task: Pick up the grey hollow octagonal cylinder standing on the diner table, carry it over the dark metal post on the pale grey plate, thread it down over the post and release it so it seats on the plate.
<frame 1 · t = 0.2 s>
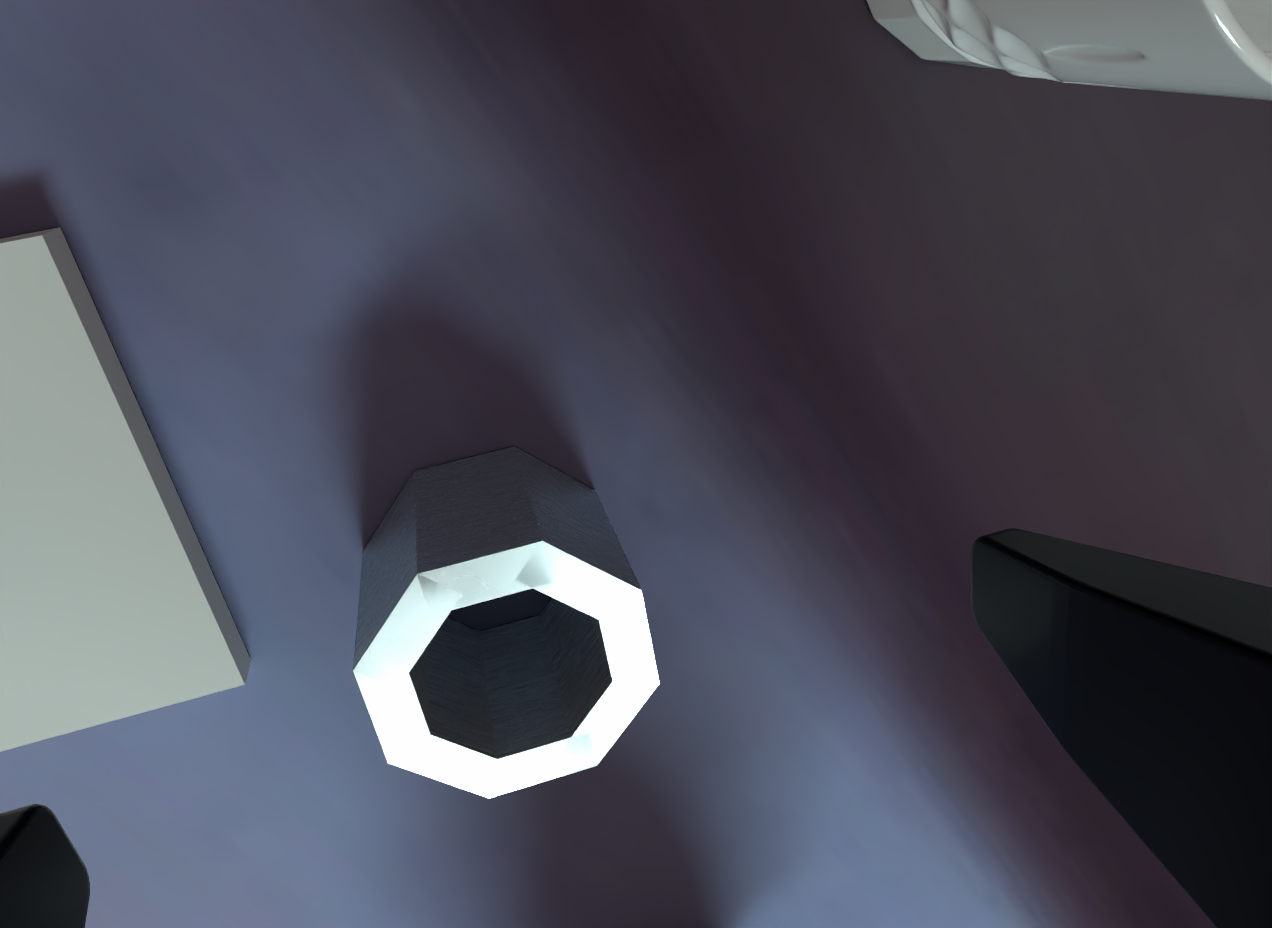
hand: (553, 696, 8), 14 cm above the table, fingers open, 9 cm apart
grey hollow octagonal cylinder: (492, 561, 23), on the table
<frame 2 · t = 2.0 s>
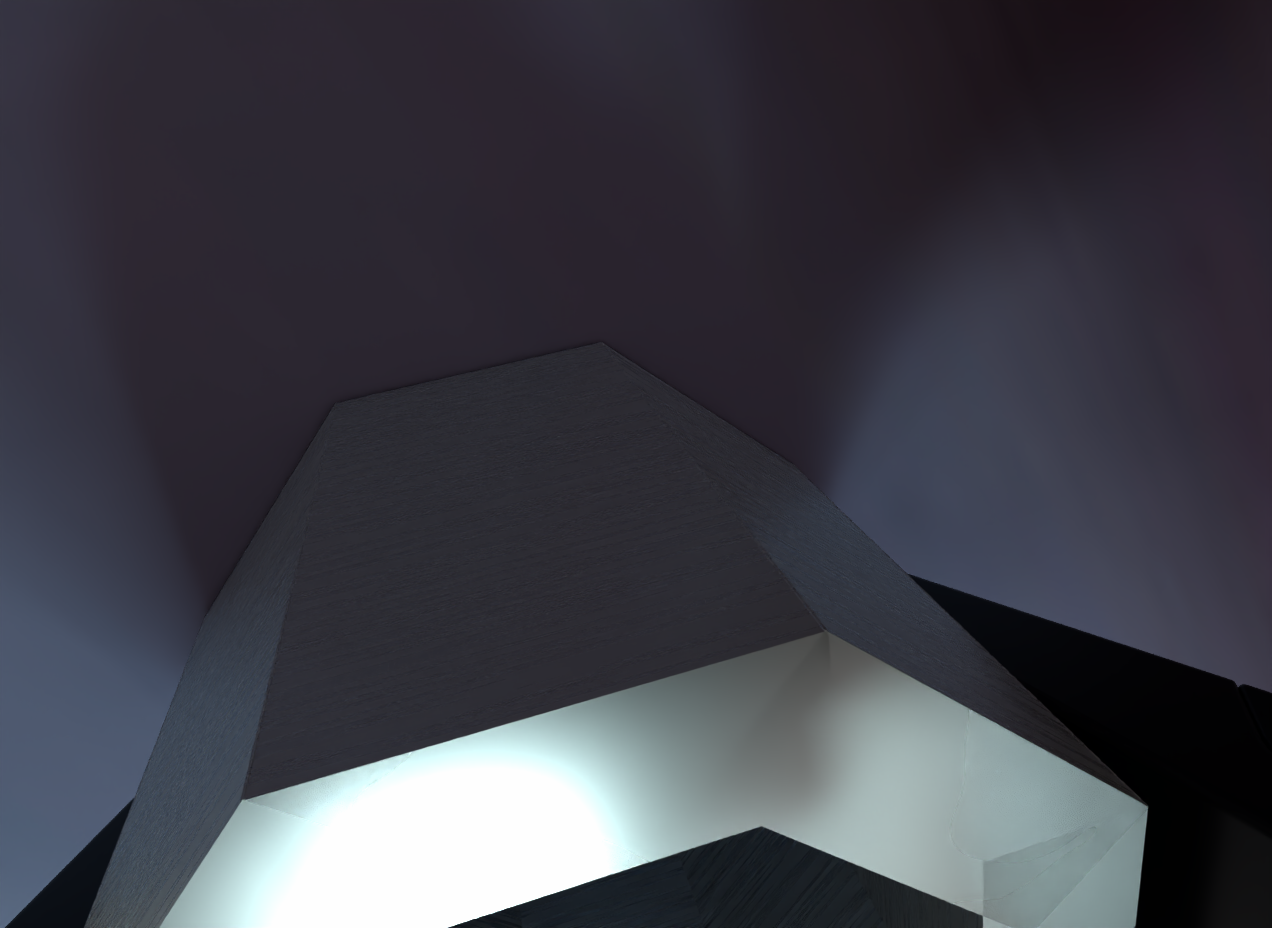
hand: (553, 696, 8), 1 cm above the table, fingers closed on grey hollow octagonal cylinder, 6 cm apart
grey hollow octagonal cylinder: (539, 636, 9), on the table, touching gripper
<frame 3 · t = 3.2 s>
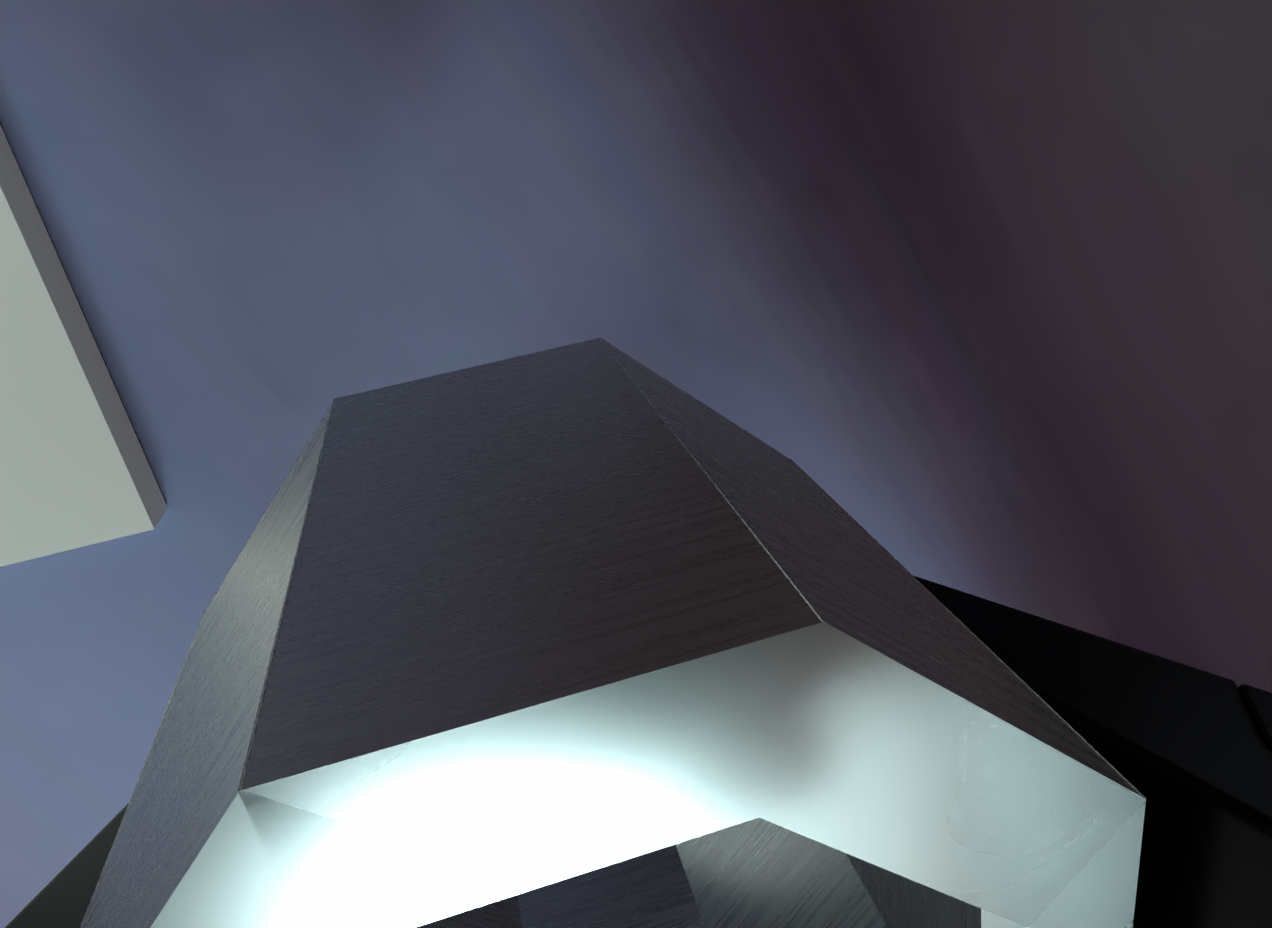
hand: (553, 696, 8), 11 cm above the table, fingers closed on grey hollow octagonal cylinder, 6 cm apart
grey hollow octagonal cylinder: (538, 632, 9), point 10 cm above the table, touching gripper
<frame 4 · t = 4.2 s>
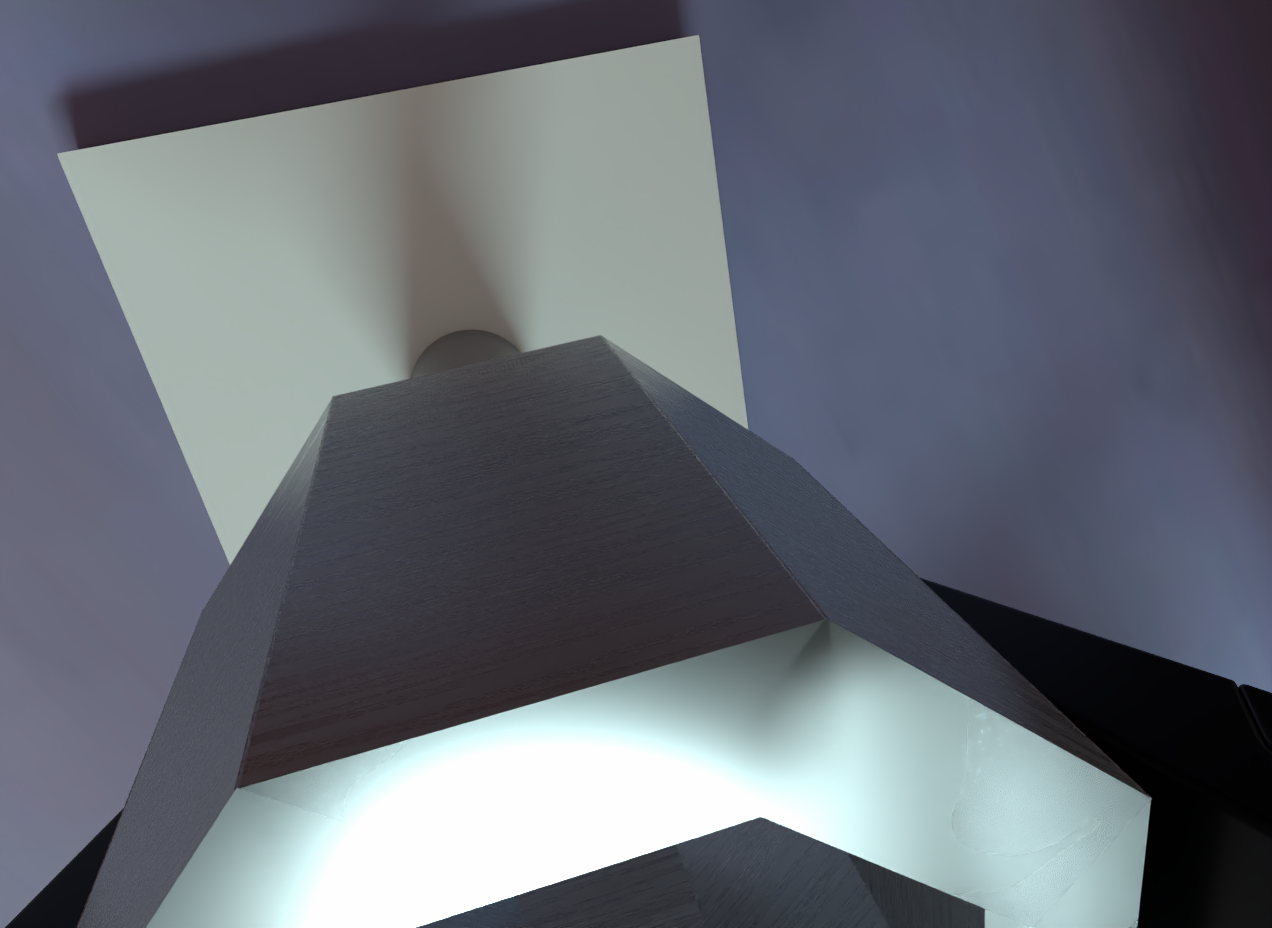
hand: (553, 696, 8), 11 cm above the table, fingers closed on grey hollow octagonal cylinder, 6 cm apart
post fixture: (469, 374, 18), on the table
grey hollow octagonal cylinder: (538, 631, 9), point 10 cm above the table, touching gripper
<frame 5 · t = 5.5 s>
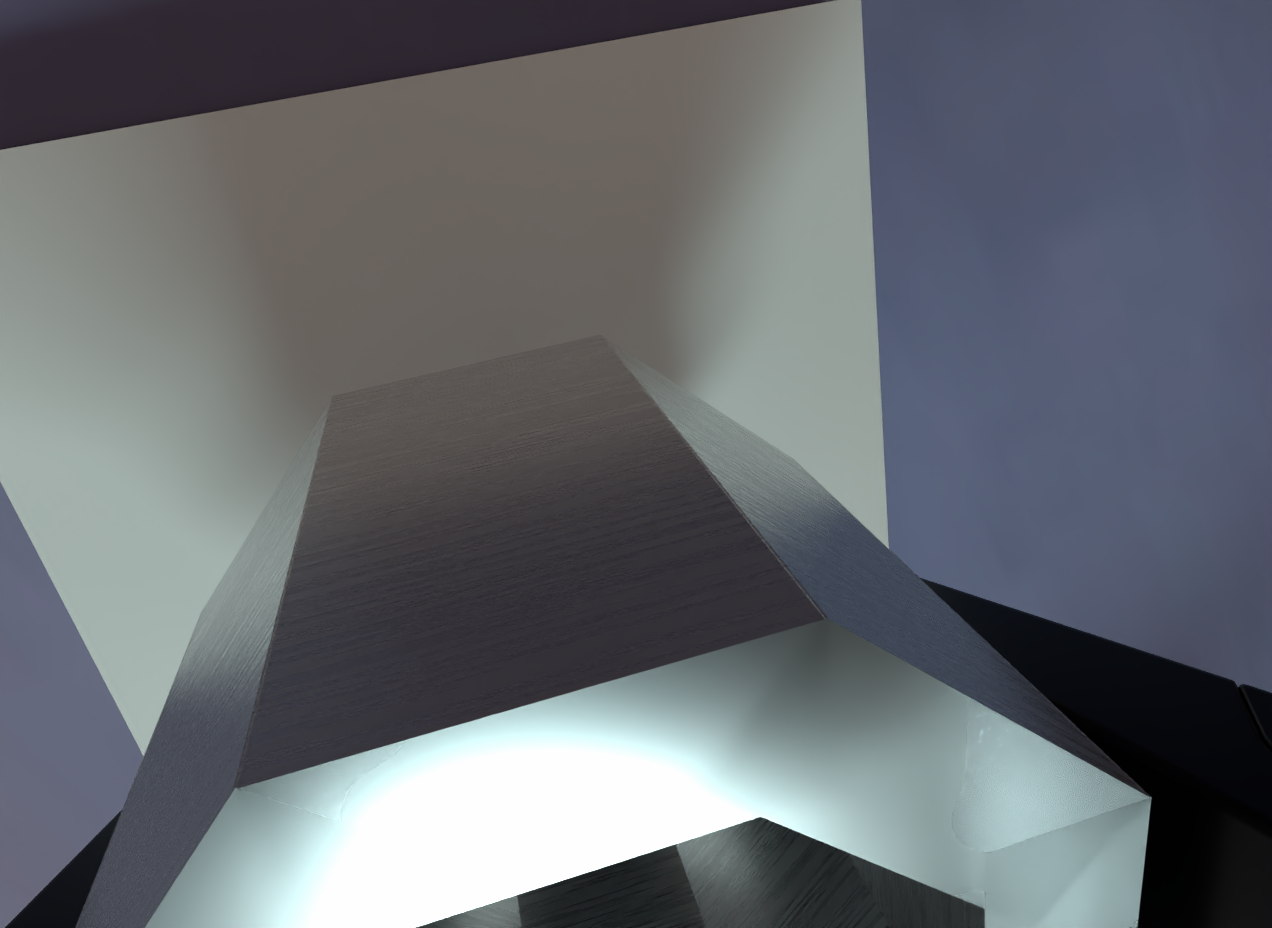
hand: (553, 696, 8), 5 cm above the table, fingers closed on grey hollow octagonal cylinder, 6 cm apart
post fixture: (500, 489, 13), on the table
grey hollow octagonal cylinder: (537, 631, 9), point 4 cm above the table, touching gripper
when the fingers open (4 cm above the table, at t = 6.6 s): grey hollow octagonal cylinder drops 2 cm, resting on post fixture.
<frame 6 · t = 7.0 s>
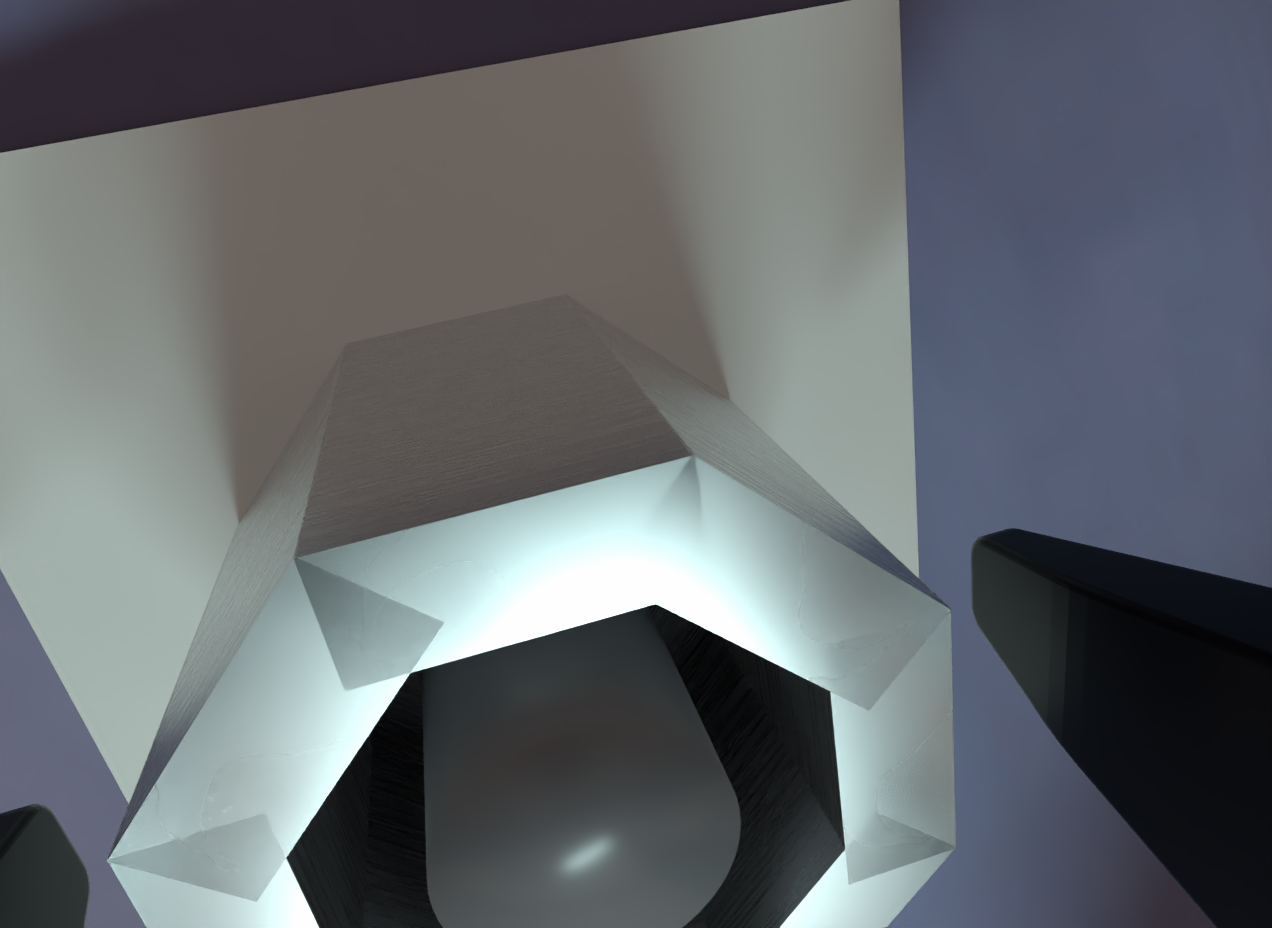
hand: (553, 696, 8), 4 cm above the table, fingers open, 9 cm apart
post fixture: (508, 516, 12), on the table
grey hollow octagonal cylinder: (517, 547, 11), point 1 cm above the table, touching post fixture
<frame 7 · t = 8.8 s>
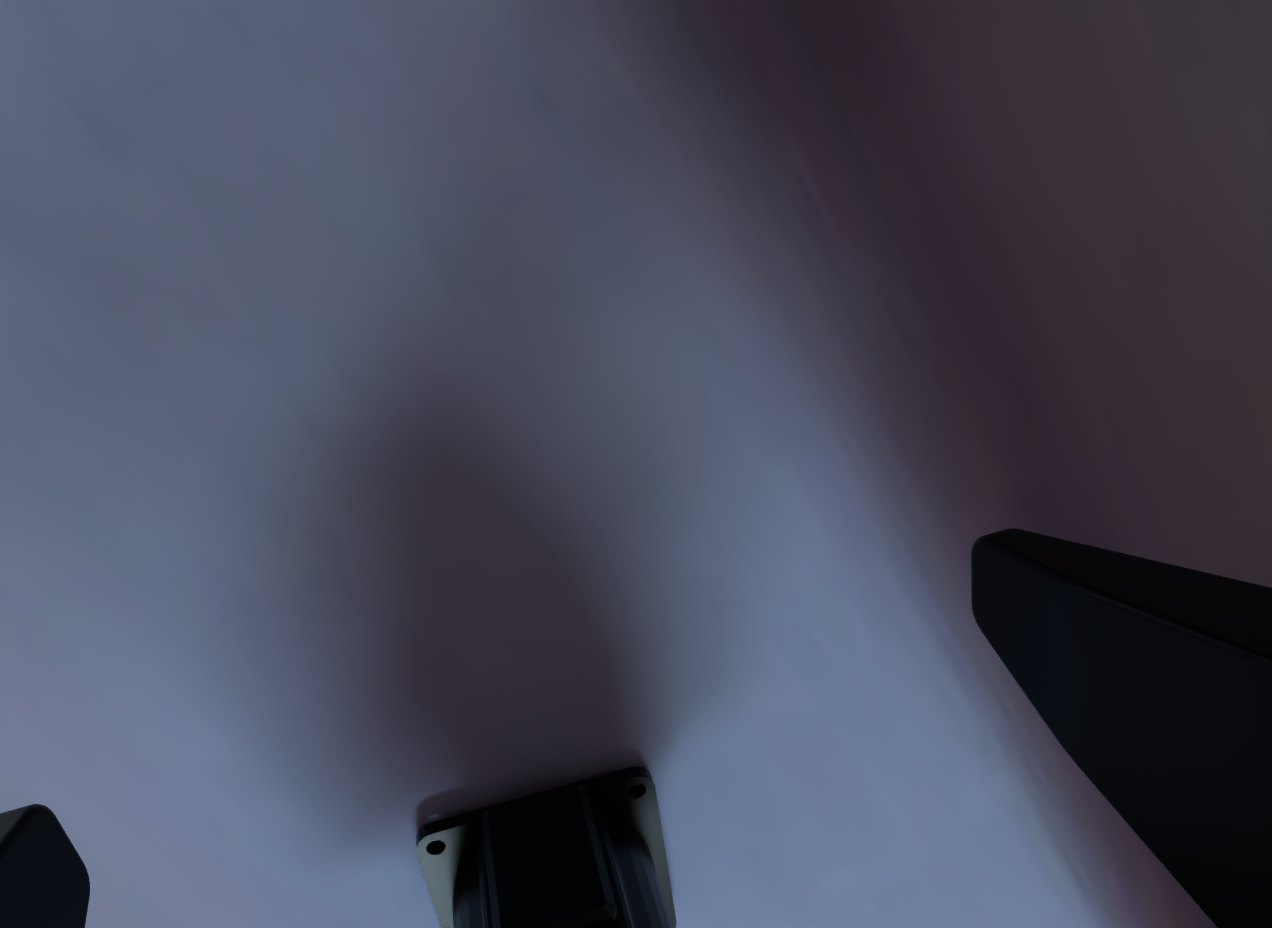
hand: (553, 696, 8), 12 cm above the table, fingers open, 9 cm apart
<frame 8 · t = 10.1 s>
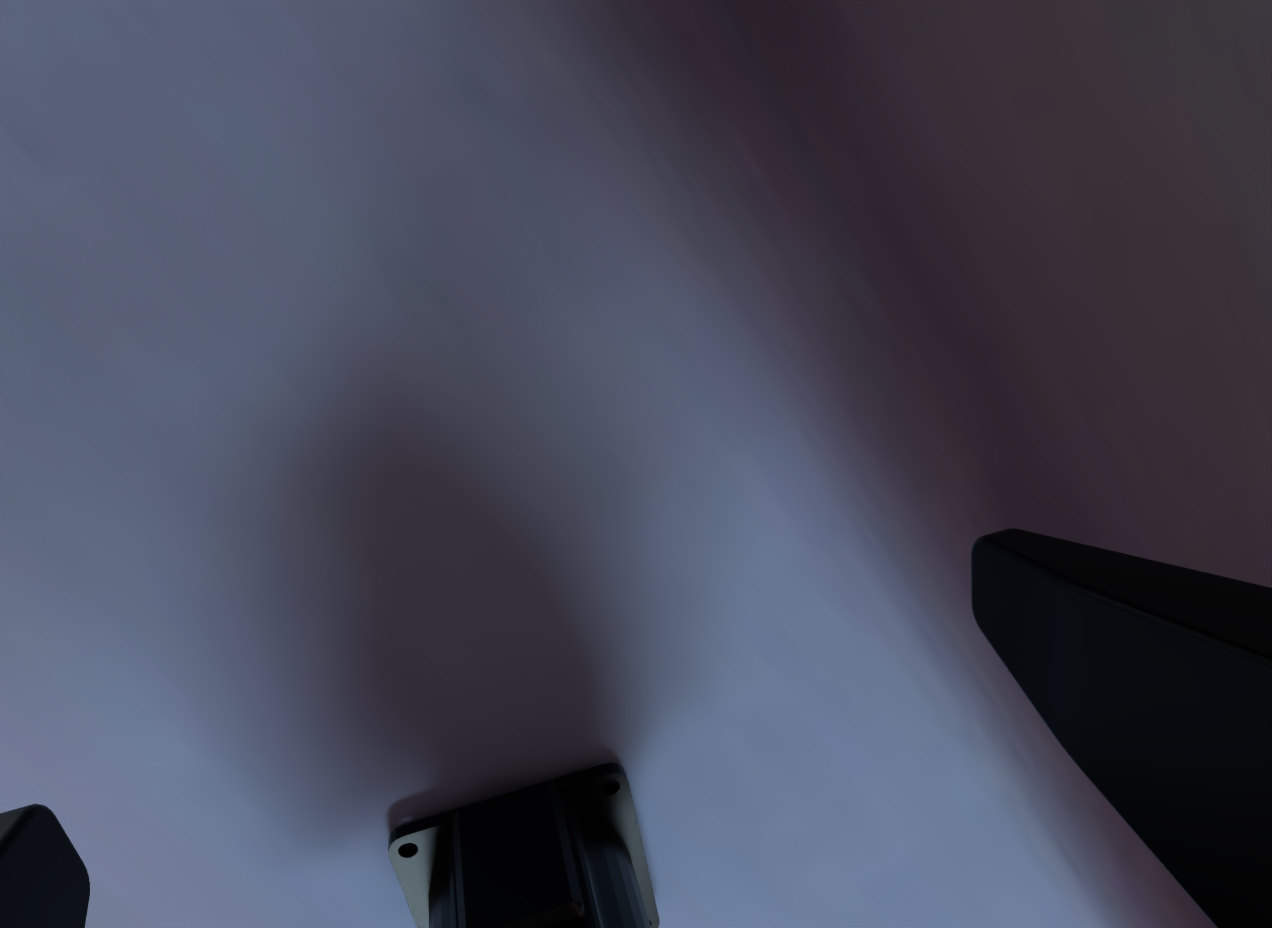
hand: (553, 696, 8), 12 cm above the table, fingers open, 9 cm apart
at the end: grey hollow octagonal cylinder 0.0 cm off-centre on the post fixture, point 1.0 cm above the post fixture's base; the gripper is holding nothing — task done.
